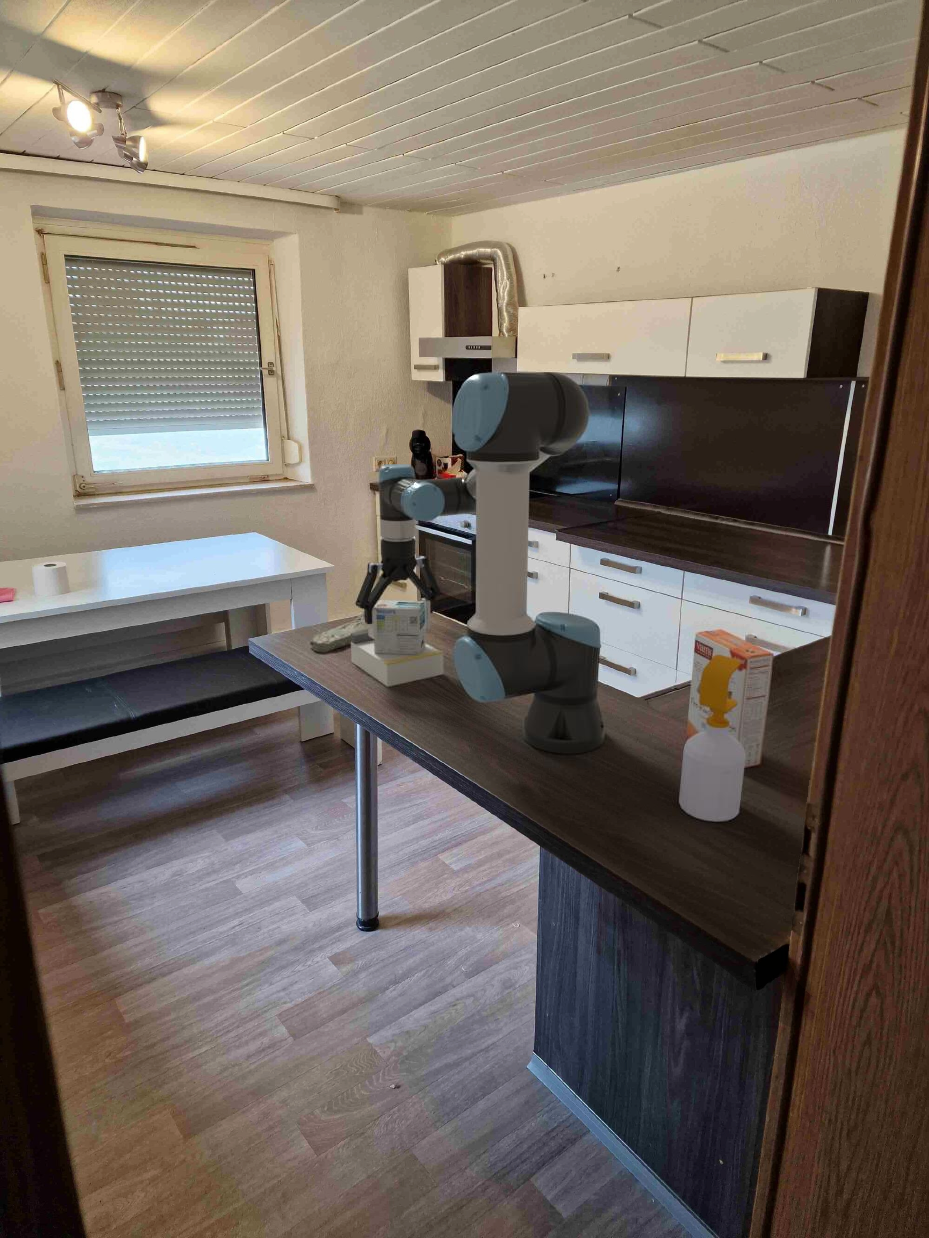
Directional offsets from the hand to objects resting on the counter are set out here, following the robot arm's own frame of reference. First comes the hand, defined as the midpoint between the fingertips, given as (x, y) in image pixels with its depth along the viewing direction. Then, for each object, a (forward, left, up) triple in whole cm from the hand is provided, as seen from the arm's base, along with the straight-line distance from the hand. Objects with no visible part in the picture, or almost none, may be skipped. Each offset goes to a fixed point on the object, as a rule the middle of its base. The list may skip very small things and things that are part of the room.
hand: (399, 632), depth 179 cm
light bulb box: (0, 0, -4) cm, 4 cm away
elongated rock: (+29, -5, -10) cm, 31 cm away
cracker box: (-66, -30, -9) cm, 73 cm away
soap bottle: (-78, -13, -9) cm, 80 cm away
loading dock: (+2, 0, -9) cm, 9 cm away
